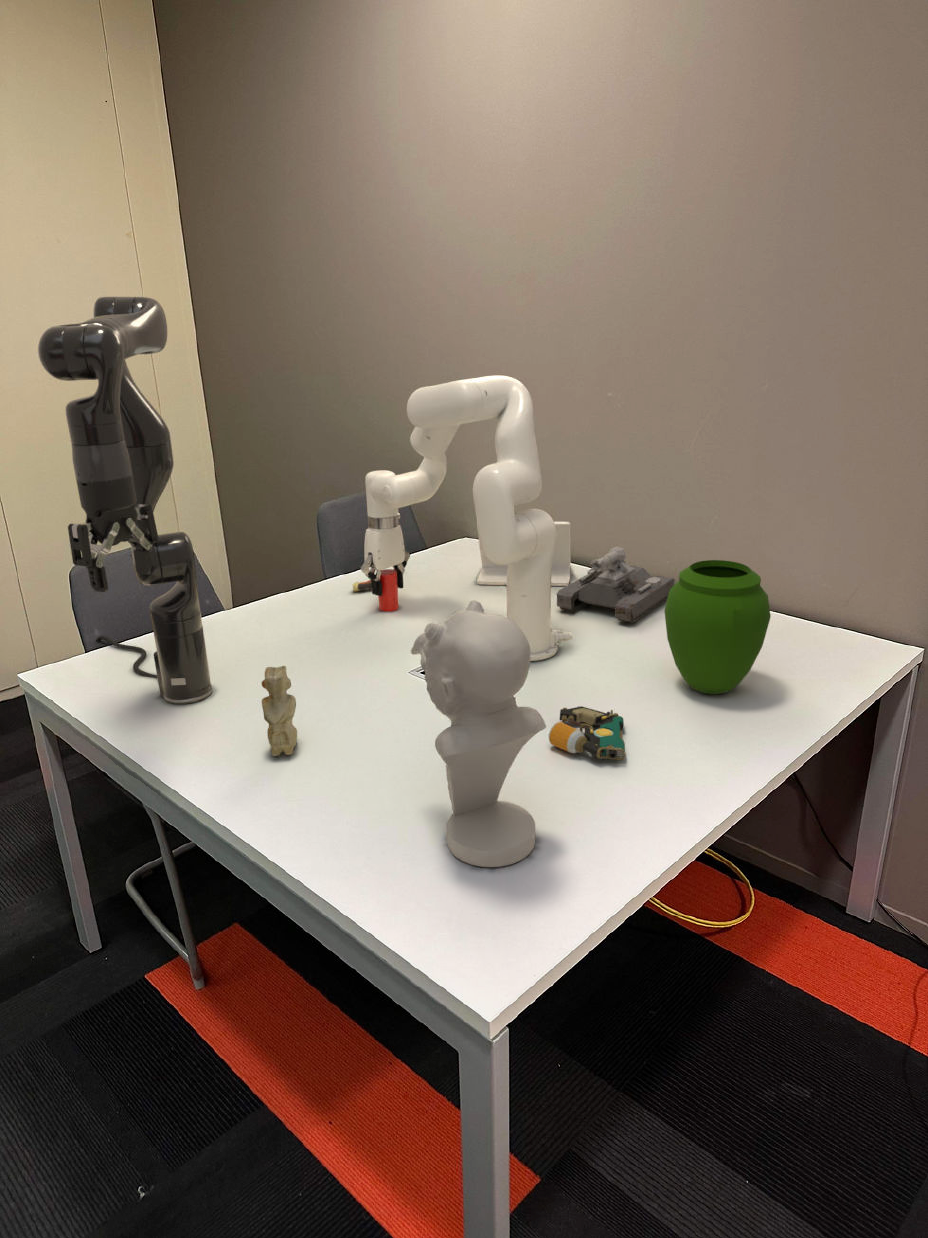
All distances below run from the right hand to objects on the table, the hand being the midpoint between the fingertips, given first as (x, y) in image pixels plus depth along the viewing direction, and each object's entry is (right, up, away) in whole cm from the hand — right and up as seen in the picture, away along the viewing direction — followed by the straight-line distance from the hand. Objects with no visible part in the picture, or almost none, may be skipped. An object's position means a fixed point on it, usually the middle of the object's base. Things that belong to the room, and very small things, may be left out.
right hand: (387, 590), depth 215 cm
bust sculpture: (+20, -39, -90) cm, 100 cm away
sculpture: (-12, -30, -66) cm, 73 cm away
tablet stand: (+36, +5, +24) cm, 44 cm away
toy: (+57, -4, -1) cm, 58 cm away
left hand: (-32, -2, -88) cm, 94 cm away
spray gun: (+42, -29, -65) cm, 83 cm away
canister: (0, -5, +2) cm, 5 cm away
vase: (+68, -21, -47) cm, 85 cm away
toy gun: (-4, +3, +21) cm, 22 cm away
